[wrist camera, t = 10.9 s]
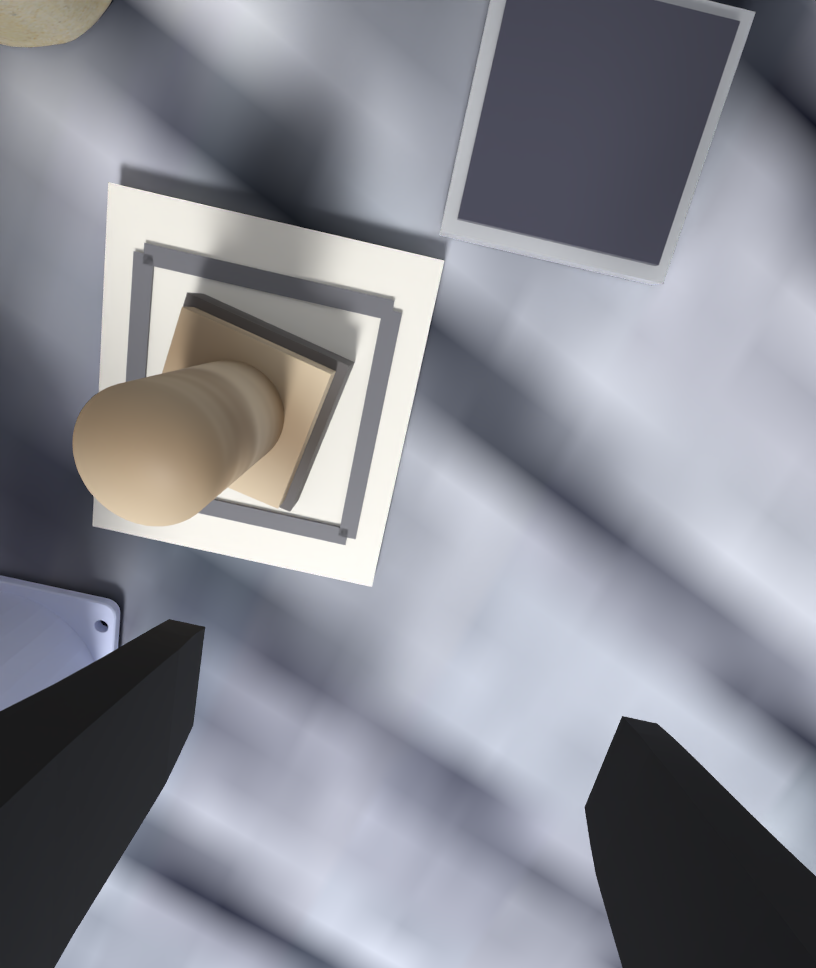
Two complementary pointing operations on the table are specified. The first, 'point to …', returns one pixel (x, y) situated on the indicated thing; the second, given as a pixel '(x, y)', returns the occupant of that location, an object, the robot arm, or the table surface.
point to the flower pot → (47, 20)
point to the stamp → (211, 419)
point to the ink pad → (592, 129)
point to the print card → (300, 311)
